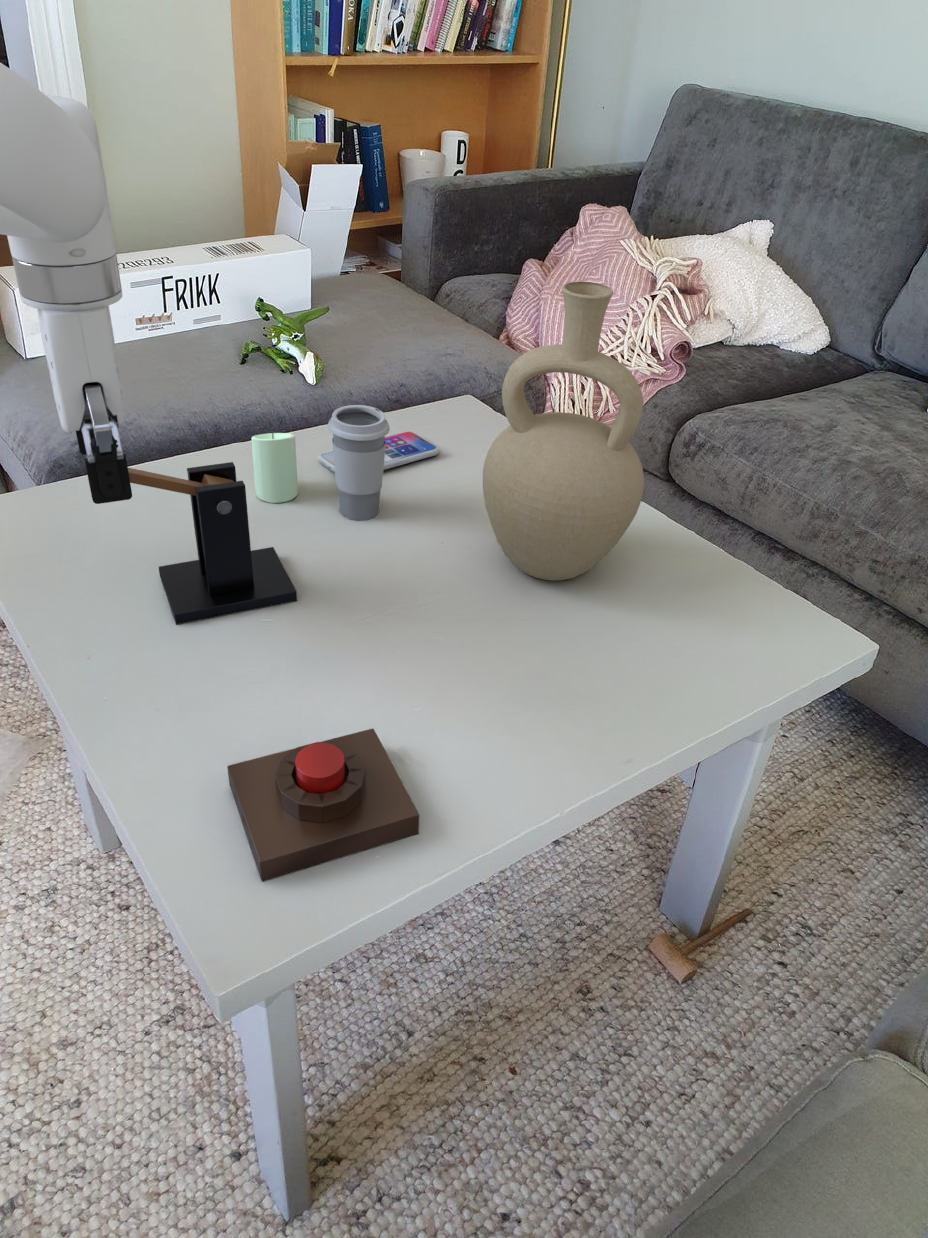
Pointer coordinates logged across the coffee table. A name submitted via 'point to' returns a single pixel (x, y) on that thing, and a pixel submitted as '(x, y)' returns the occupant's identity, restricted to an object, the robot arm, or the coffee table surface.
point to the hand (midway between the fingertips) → (105, 474)
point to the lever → (172, 481)
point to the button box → (320, 807)
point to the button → (320, 768)
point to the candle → (275, 467)
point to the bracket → (223, 557)
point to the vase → (565, 455)
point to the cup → (358, 458)
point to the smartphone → (396, 450)
